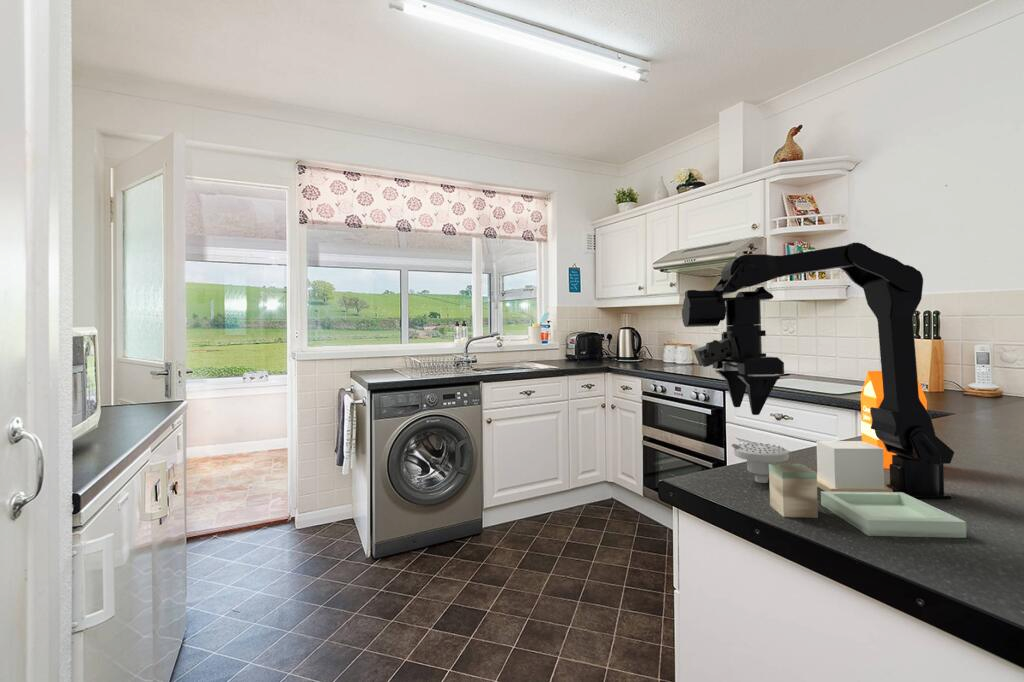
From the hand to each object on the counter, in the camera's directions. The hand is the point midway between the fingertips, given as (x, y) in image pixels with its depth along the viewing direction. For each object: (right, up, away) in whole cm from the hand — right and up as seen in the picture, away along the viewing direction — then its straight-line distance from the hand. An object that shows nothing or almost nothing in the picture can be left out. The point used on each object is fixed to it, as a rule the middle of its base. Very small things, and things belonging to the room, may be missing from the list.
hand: (745, 410), depth 86 cm
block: (+3, -15, -10) cm, 18 cm away
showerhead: (+5, -15, +5) cm, 17 cm away
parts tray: (+14, -14, -15) cm, 25 cm away
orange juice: (+39, -14, +14) cm, 44 cm away
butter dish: (+19, -14, +1) cm, 24 cm away
